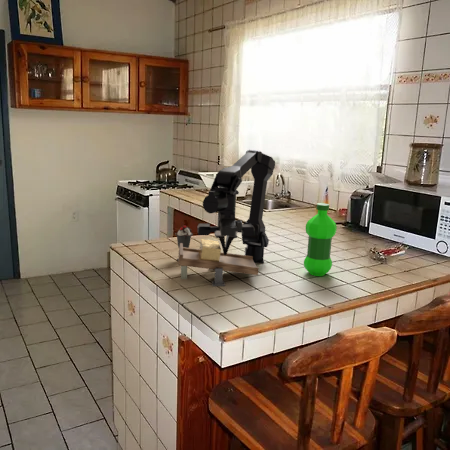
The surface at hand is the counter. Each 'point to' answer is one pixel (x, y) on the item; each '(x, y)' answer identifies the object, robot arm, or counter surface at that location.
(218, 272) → the pivot stand
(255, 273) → the wooden tray
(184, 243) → the sundae
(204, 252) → the tan wood-grain block
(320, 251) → the plastic bottle
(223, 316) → the counter surface
